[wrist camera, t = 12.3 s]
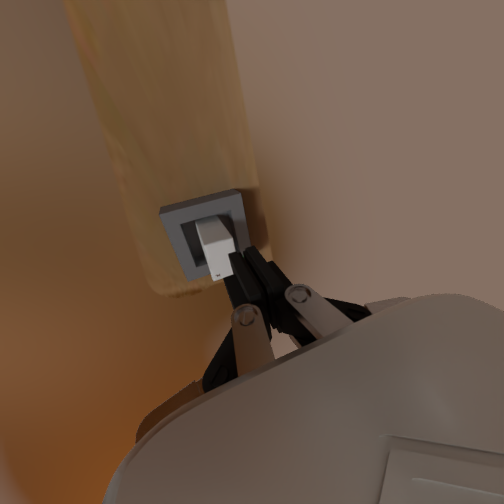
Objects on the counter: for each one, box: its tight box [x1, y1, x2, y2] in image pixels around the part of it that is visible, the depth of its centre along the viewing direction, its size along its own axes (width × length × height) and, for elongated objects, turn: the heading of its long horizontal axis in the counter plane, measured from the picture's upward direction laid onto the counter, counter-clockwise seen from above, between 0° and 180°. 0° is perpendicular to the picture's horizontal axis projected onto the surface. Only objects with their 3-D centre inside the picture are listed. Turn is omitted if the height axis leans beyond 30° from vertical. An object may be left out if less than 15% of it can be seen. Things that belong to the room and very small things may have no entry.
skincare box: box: [195, 215, 236, 281], centre depth 32 cm, size 6×4×12 cm
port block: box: [159, 189, 251, 281], centre depth 36 cm, size 13×13×5 cm
